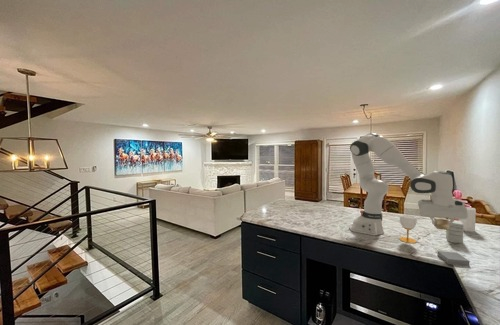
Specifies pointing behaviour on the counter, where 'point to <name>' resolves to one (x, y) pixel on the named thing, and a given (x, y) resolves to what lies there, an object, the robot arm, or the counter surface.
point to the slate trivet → (453, 258)
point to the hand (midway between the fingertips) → (441, 224)
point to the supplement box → (455, 232)
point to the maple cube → (441, 223)
